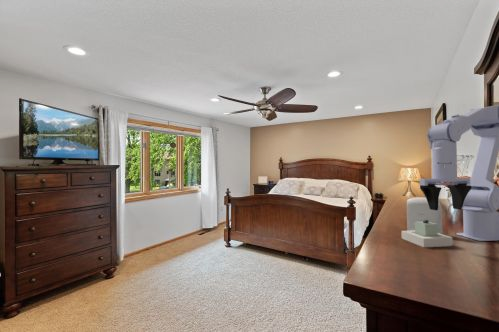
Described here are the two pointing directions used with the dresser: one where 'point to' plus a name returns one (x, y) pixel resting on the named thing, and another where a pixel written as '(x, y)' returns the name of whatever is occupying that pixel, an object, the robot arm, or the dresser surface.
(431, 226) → the pale green block
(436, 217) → the photo printer
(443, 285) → the dresser surface
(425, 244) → the white square frame
